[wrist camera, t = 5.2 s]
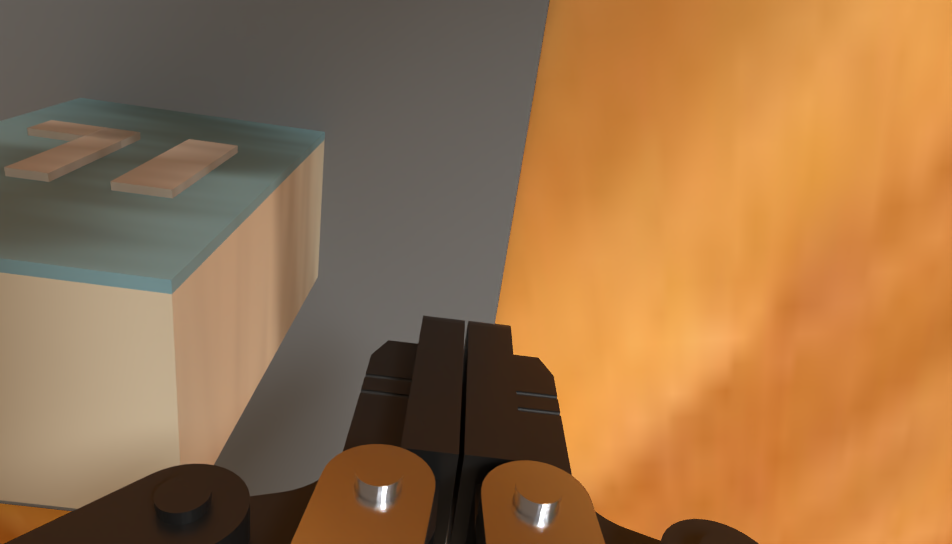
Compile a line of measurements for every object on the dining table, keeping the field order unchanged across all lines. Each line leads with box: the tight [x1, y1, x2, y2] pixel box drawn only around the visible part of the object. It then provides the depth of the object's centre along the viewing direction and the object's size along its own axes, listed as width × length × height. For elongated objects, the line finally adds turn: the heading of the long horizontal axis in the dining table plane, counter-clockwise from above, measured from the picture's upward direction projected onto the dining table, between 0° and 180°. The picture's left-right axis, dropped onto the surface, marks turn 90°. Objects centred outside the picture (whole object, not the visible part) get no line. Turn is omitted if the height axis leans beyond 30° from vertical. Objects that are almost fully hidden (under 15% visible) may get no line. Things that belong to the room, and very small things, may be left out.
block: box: [0, 98, 325, 509], centre depth 13 cm, size 6×4×9 cm
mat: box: [0, 0, 549, 544], centre depth 18 cm, size 22×19×1 cm
